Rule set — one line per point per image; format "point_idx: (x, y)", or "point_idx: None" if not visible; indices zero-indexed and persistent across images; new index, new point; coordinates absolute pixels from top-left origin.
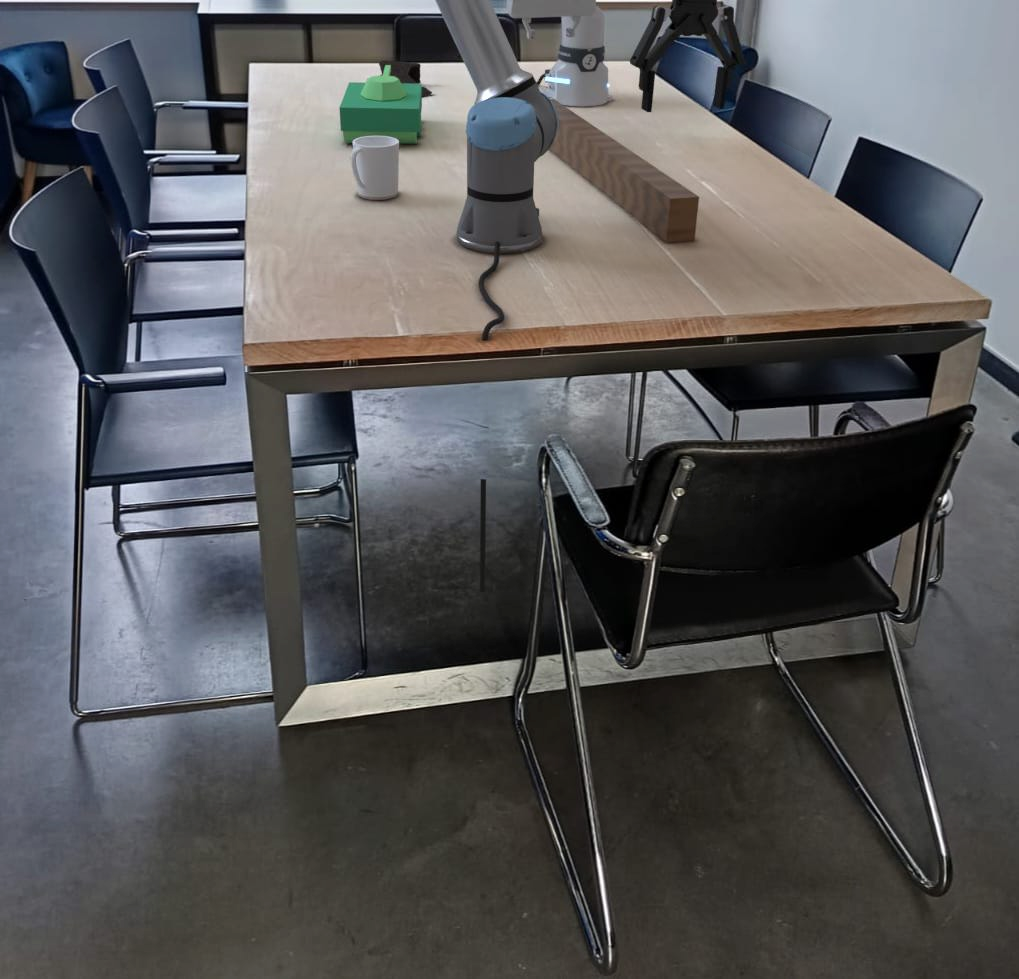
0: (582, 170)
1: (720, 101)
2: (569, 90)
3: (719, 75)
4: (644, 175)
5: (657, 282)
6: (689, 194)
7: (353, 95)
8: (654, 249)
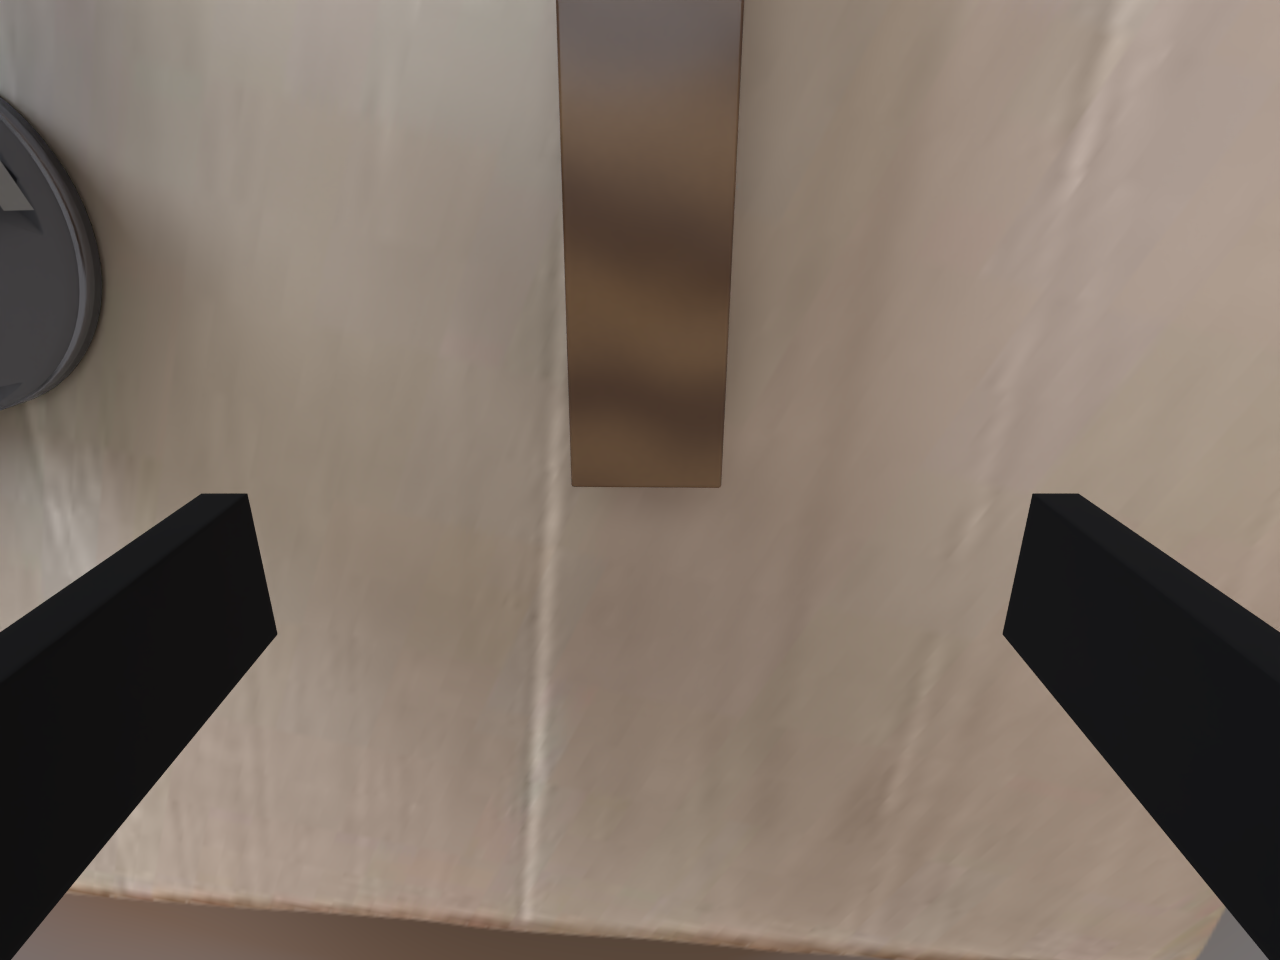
0: None
1: (1039, 675)
2: None
3: (1271, 786)
4: (599, 30)
5: (430, 724)
6: (691, 446)
7: None
8: (520, 475)
